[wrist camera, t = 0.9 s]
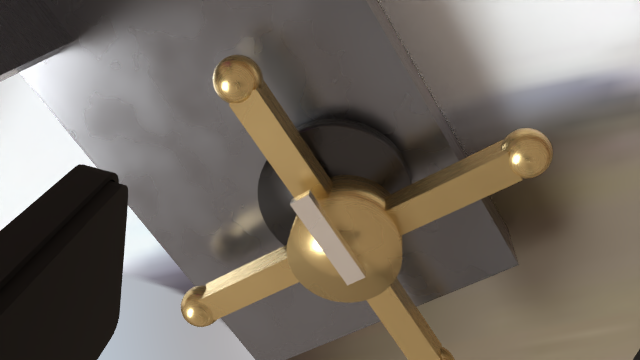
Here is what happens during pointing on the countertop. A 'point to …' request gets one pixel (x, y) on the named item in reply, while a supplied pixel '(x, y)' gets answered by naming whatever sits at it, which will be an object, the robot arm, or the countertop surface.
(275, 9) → the stand
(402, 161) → the capstan
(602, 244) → the countertop surface
